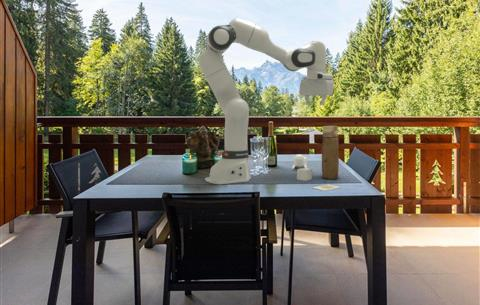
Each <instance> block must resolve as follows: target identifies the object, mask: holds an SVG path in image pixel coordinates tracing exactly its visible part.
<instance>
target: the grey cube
mask: <svg viewBox="0 0 480 305" xmlns="http://www.w3.org/2000/svg"><path fill="white" fill-rule="evenodd" d="M312 173H313V172H312V168H308V167H307V168H305V167H302V168H298V169H296V180H297V181H305V182H307V181H311V180H313V179H312V178H313V176H312V175H313V174H312Z"/></svg>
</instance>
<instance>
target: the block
mask: <svg viewBox="0 0 480 305" xmlns="http://www.w3.org/2000/svg"><path fill="white" fill-rule="evenodd" d="M321 143H322V144H321V172H322V173H321V175H322V178H324V179H327V180H335V179H337V178H339V165H340V164H339V163H340V162H339V161H340V156H339V155H340V154H339V153H340V151H339V149H340V148H339V138H338V137H323V138H322V142H321Z"/></svg>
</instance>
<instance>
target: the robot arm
mask: <svg viewBox="0 0 480 305" xmlns="http://www.w3.org/2000/svg"><path fill="white" fill-rule="evenodd" d="M234 43H236V44H239V45H241V46H243V47H246V48H248V49H250V50H253V51H256V52H259V53H262V54H265V55H266V56H268V57H270V58H272V59H274V60H276V61H278V62H280V63H281V64H282V65H283V67H285V69H287V70H288V71H290V72H297V71H299V70H301V69H305V68H306V76H304V77H302V78H301V80H300V82H299V83H300V84H299V91H298V92H299V96H303V97H304V100H305V105H308V106H310V105H311V101H310V97H311V96H321V101H319V105H320V106H324V105H325V102H326V100H327V96H332V95H333V93H334V88H335V87H334V86H335V85H334V75H333V74H331V73H328V72H326V62H327V49H326V46H325V44H324V43H323V42H320V41H316V40H315V41H313V40H312V41H310V42H309V43H307V44H305V45H303V46H301V47H298V48H295V49H293V50H288V49H287V50H286V49H284V48H283V47H281V46H280V45H278V44H276V43H274V42H272V40H271V38H270V35H269V33H268V31H267V30H266V29H265V28H263V27H262V26H260V25H258V24H256V23H255V22H252V21H249V20H246V19H244V18H239V17H234V18H233V19H232V20H230V22H229V23H228V24H223V25H222V24H221V25H220V24H219V25H216V26H214V27H213V28H212V29H211V30H210V31H209V33H207V37H206V44H205V45H206V48H205V50H204V51H202V52H201V53H200V54H199V56H198V63H199V67H200V69H201V71H202V74H203V76H204V78H205V80H206V81H207V83H208V85H209V87H210V89H211V91H212V93H213V95H214V97H215V99H216V101H217V103H218V106H219V107H220V110H221V111H222V113H223V115H224V120H225V121H224V133H223V134H224V139H223V140H224V150H223V151H221V150H219V151H217V155H218V156H221V158H220V159H219V160H218V161H216V162H215V163H214V165H212V166H211V167H210V172H209V176H208V177H205V178H204V180H205V182H207V183H209V184H214V185H227V184H235V183H236V184H237V183H248V182H250V180H251V179H252V176H251V173H250V168H249V167H250V166H249V149H248V130H249V116H250V107H249V104H248V103H247V101H246V100H245V99H243V98H242V97H241V95H240V93H239V90H238V88H237V86H236V83H235V81H234V78H233V76H232V75H231V73H230V72H229V69H228V68H227V66H226V63H225V62H224V60H223V54H224V53H225V52H226V51H227V50H228V49H229V48H230V46H231V45H232V44H234Z"/></svg>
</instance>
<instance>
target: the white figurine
mask: <svg viewBox="0 0 480 305" xmlns="http://www.w3.org/2000/svg"><path fill="white" fill-rule="evenodd" d="M307 165H308V158H307V156H304V154H295V156H293V164H292V166H291V170H295V168H298V169H301V168H307V169H308V166H307Z"/></svg>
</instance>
